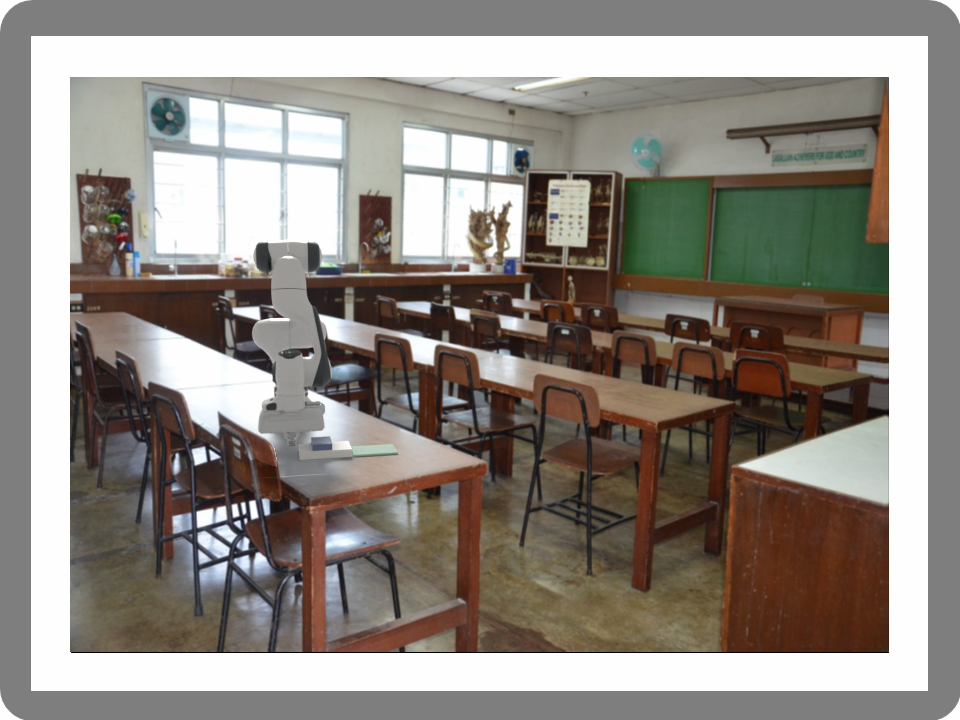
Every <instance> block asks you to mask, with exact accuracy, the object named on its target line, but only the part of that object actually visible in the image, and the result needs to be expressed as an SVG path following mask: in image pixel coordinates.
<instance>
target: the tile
mask: <svg viewBox="0 0 960 720" xmlns="http://www.w3.org/2000/svg"><path fill="white" fill-rule="evenodd" d="M332 442H333V441H332V438H331V436H330V435H329V436H312V437H310V443H311V445H312V450H313V451H322V450H332Z"/></svg>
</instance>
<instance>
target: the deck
mask: <svg viewBox="0 0 960 720" xmlns="http://www.w3.org/2000/svg"><path fill="white" fill-rule="evenodd" d="M297 446H298V458H299V461H305V460H308V461H309V460H319V459H320V460H324V459H340V458H341V459H342V458H352V457H353V454H352V448H351V446H352V445H351V443H350V441H349V440H341V441H332V450H322V451H313V450H312V445H311V442H305V443H297Z"/></svg>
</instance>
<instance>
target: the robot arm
mask: <svg viewBox="0 0 960 720" xmlns="http://www.w3.org/2000/svg"><path fill="white" fill-rule="evenodd" d="M252 257H253V261H254V265H255V266H256V269H257V270H258V271H259V272H262V273H263V274H266V276H267V275H269V273H272V274H271V281H270V282H271V285H270V288H271V289H270V291H271V293H270V295H271V302H272V307H273V309H274V310H275V312H276V313H277V314H278V315H280V316H281V317H277V318H275V317H273V318H272V317H271V318H265V319H261V320H258V321H256V322H255V324H254V325H253V327H252V332H251V337H252V341H253V342H254V344H255V345H256V346H257V347H258V348H259V349H261V350H262V351H263V352H264V353H265V354H266V355H268V357H269V359H270V361H271V363H272V364H271V370H272V372H271V373H272V374H271V376H272V382H273V383H274V385H275V386H274V387H273V393H274V395H273V397H270V398H267V399H264V400H263V401H262V403H261V410H260V412H259V416H258V422H257V423H258V425H257V429H258V430H257V431H258V433H260V434H262V435H263V434H265V435H266V434H283V437H284V439H285V440H286V445H287V447H295V446H296V447H297V446H298V439H299V438H300V436H301V432H319V431H320V432H321V431H323V430H324V429H325V428H326V427H325V419H324V414H326V406H325V404H324V403H323V402H321V400H320V401H312V400H311V399H310V398H309V387H312V388H324V387H326V386H327V385H328V384H329V383H330V382H331V381H332V377H333V368H332V365H331V361H330V359H329V356H328V352H327V346H326V341H325V340H326V339H327V338H326V337H327V328H326V326H325V324H324V322H323V321H322V320H321V319H320V315H319V312H318V309H317V307H316V306H315V305H312V304H311V302H310V301H309V297H308V292H307V291H308V290H307V280H306V273H308V274H310V273H315V272H317V271H319V269H320V268H321V267H320V266H321V265H322V261H323V253H322V249H321V247H320V244H318V243H317V242H316V241H313V240H306V241H305V240H298V239H284V240H283V239H282V240H281V239H279V240H262V241H259V242H257V244H255V248H254V251H253V256H252ZM310 348H313V352H314V354H313V355H312V356H303V353H302V352H301V351H300V350H297V349H310ZM289 433H295V438H291V439H290V438H289V437H288V436H289Z"/></svg>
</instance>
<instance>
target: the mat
mask: <svg viewBox="0 0 960 720" xmlns="http://www.w3.org/2000/svg"><path fill="white" fill-rule="evenodd" d="M350 446H351V448H352V457H353V458H355V457H356V458H357V457H375V456H376V457H377V456H390V455H391V456H392V455H398V454H399V452H398V450H397V449H396V447H395V445H394V444H393V443H390V444H389V443H388V444H373V445H372V444H371V445H356V446H355V445H353V446H352V445H350Z"/></svg>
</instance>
